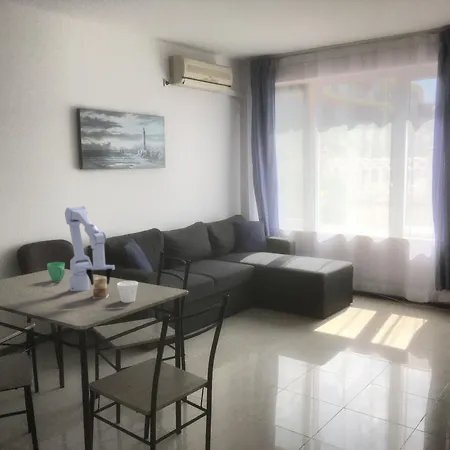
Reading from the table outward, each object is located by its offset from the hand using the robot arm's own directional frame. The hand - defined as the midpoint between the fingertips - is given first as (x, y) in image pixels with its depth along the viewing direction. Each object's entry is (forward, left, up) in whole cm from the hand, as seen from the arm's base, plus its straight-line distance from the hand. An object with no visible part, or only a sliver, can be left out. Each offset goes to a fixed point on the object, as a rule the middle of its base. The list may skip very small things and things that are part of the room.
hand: (100, 284), depth 253 cm
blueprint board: (+3, +3, -7) cm, 8 cm away
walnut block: (0, 0, -6) cm, 6 cm away
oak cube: (0, 0, -2) cm, 2 cm away
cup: (+15, -10, -7) cm, 19 cm away
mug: (-32, +39, -7) cm, 51 cm away
